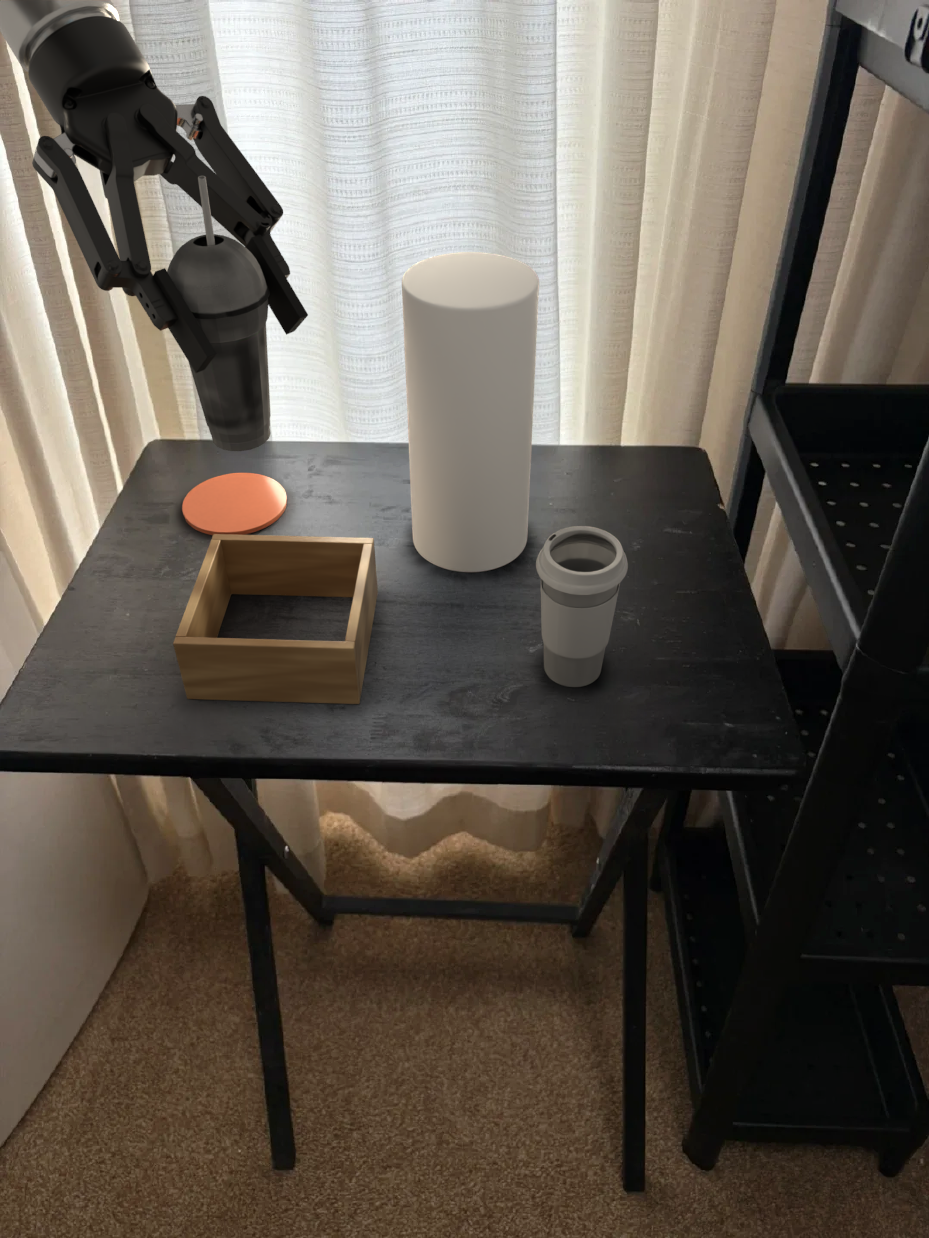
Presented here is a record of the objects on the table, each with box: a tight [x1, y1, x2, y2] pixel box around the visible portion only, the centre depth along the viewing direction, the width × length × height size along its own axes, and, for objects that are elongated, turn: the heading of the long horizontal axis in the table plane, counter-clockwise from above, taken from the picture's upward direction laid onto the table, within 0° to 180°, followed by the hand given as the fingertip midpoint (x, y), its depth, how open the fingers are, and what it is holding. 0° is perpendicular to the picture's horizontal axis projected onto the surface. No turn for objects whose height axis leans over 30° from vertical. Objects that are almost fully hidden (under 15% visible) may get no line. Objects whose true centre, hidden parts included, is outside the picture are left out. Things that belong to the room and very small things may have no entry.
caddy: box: [172, 534, 379, 705], centre depth 85 cm, size 14×14×6 cm
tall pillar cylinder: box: [401, 251, 540, 573], centre depth 89 cm, size 11×11×25 cm
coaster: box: [181, 472, 288, 536], centre depth 101 cm, size 10×10×1 cm
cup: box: [535, 525, 629, 688], centre depth 81 cm, size 7×7×12 cm
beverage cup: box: [166, 176, 271, 452], centre depth 75 cm, size 7×7×20 cm
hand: (252, 343), depth 74 cm, fingers closed on beverage cup, 7 cm apart
